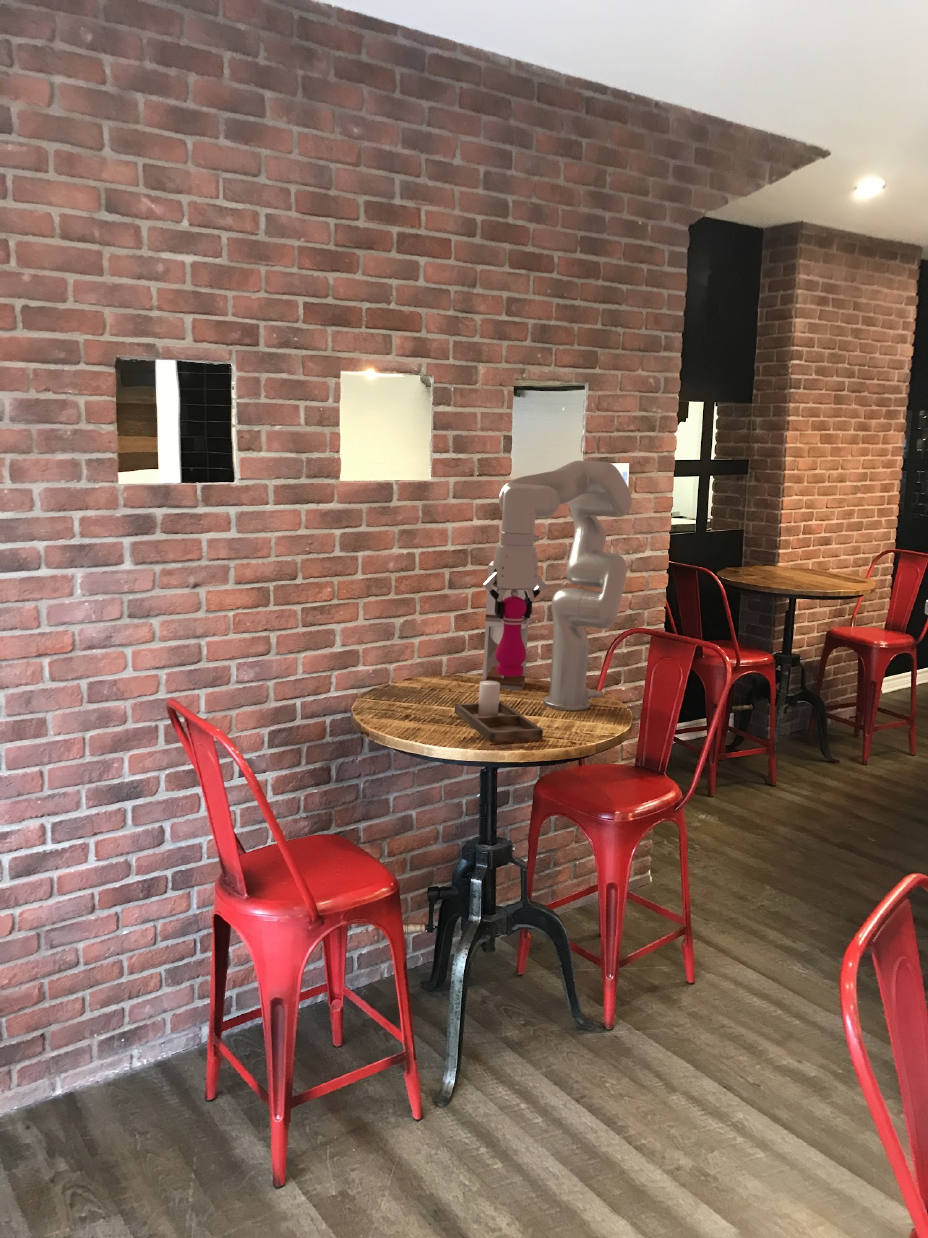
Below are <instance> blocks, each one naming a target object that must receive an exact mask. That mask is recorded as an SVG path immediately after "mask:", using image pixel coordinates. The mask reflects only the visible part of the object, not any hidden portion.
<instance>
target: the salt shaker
mask: <svg viewBox="0 0 928 1238" xmlns="http://www.w3.org/2000/svg"><path fill="white" fill-rule="evenodd" d="M500 690H501V689H500V683H499V682H495V681H481V680H480V681H479V687H478V703H479V706H478V717H484V716H498V709H499V702H500Z"/></svg>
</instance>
